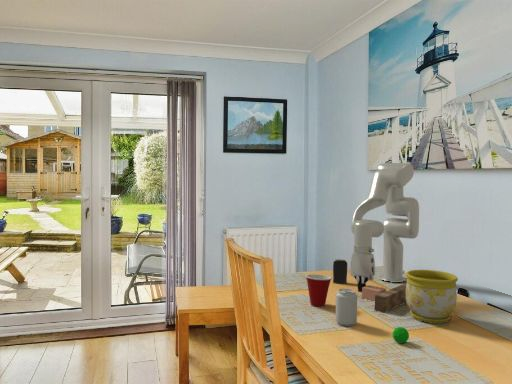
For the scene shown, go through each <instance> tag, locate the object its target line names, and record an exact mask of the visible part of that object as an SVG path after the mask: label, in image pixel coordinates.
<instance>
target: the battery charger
mask: <svg viewBox="0 0 512 384" xmlns="http://www.w3.org/2000/svg"><path fill="white" fill-rule="evenodd" d="M347 277H348V261H347V260H346V259H340V258H339V259H336V258H335V259H334V260H333V262H332V283H333V284H335V283H336V284H347V281H348V279H347Z"/></svg>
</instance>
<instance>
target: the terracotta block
mask: <svg viewBox="0 0 512 384" xmlns="http://www.w3.org/2000/svg"><path fill="white" fill-rule="evenodd" d="M385 291H387V288H384V287H379V286H374V285H366V286H365V287H363V288H362V292H361V300H364V299H367V300H366V301H368V300H371V301H370V302H372V301H375V295H377V294H380V293H382V292H385Z"/></svg>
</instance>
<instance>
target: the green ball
mask: <svg viewBox="0 0 512 384" xmlns="http://www.w3.org/2000/svg"><path fill="white" fill-rule="evenodd" d="M392 338H393V340H394V342H396V343H398V344H400V343H401V344H404V343H407V342H408V340H409V339H410V333H409V331H408V330H407V329H406V328H405V327H403V326H398V327H395V329H394V330H393V331H392Z"/></svg>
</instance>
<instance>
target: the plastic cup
mask: <svg viewBox="0 0 512 384" xmlns="http://www.w3.org/2000/svg"><path fill="white" fill-rule="evenodd" d="M304 276H305V278H306V283H307V288H308V297H309V303H310V305H311V306H313V307H317V308H321V307H324V306H326V302H327V297H328V292H329V288H330V284H331V280H333V276H332V277H331V276H330V275H325V274H315V273H314V274H313V273H311V274H305V275H304Z"/></svg>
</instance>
